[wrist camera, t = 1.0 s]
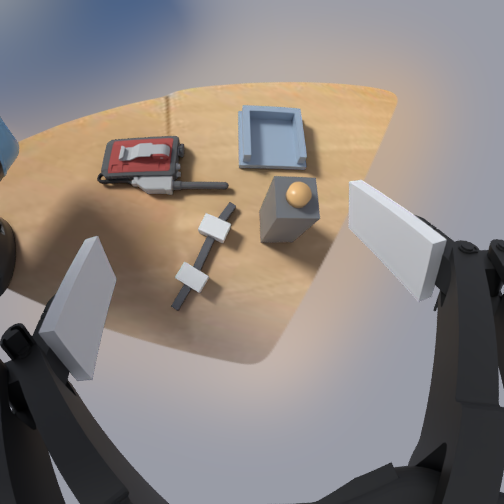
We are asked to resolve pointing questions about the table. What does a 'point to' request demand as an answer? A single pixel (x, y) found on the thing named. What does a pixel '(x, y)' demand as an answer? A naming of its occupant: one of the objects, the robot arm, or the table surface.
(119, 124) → the table surface
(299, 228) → the grey post with ball
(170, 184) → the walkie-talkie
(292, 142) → the tray
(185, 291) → the cable run
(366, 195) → the robot arm
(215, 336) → the table surface
